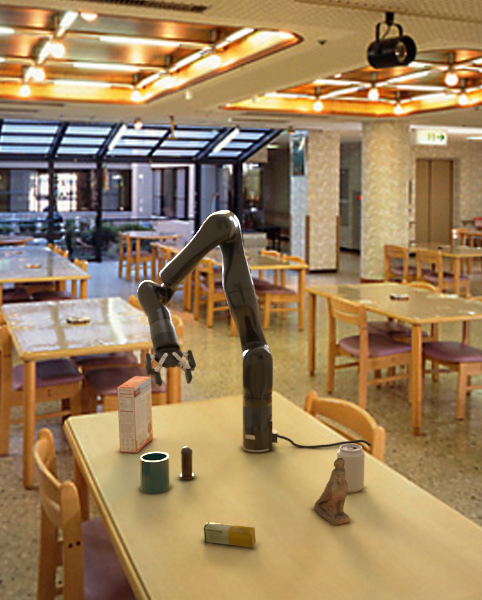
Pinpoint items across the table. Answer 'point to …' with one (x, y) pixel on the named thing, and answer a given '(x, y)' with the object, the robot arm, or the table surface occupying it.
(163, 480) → the cup
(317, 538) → the table surface
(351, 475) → the can
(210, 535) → the medication box
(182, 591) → the table surface
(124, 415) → the cracker box
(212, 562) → the table surface
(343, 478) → the worn brown figurine
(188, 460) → the game pawn
